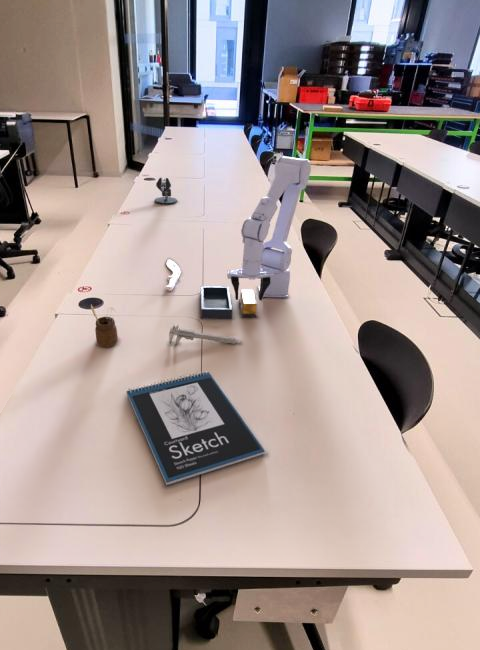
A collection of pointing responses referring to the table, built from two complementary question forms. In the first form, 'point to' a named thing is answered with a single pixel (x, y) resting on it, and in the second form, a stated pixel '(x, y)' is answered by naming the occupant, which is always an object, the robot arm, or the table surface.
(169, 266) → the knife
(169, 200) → the dark grey upright piece
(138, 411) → the sketchbook
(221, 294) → the case
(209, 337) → the caliper
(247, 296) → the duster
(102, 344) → the utensil holder
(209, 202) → the table surface
